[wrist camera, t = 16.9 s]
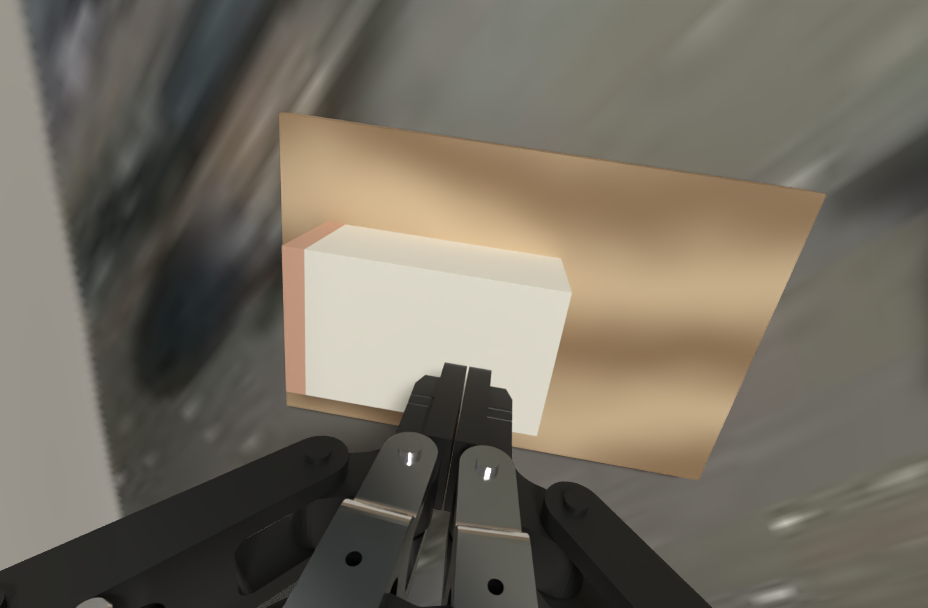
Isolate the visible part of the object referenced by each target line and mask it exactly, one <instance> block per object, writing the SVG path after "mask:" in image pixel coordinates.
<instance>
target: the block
mask: <svg viewBox="0 0 928 608" xmlns="http://www.w3.org/2000/svg"><path fill="white" fill-rule="evenodd" d="M282 270H283V303H284V337H285V370H286V391H287V392H292V393H298V394H303V395H309V396H315V397H320V398H326V399H331V400H337V401H343V402H348V403H354V404H359V405H365V406H371V407H376V408H382V409H387V410H393V411H399V412H404V411H405V408H406V406H407V404H408V400H409V398H410V395H411V393H412V390H413V387H414V385H415V383H416V382H417V381H418V380H419V379H421V378H422V377H423V376H425V375H429V376H435V377H440V376H441V373H442V369H443V366H444V363H445V362H447V363H452V364H458V365H464V366H467V371H466V378H465V384H464V390H463V396H464V391H465V386H466V381H467V375H468V370H469V366H470V367H476V368H482V369H487V370H492V373H491V383H490V386H492V387H498V388H504V389H506V390H507V391H508V393H509V395H510V396H511V398H512V400H513V402H512V432H516V433H522V434H527V435H533V436H537V434H538V429H539V425H540V421H541V417H542V413H543V409H544V405H545V401H546V397H547V393H548V389H549V385H550V381H551V377H552V372H553V368H554V364H555V360H556V356H557V352H558V348H559V344H560V340H561V336H562V332H563V328H564V324H565V319H566V315H567V311H568V307H569V303H570V299H571V295H572V291H571V288H570V285H569V282H568V279H567V276H566V273H565V269H564V266H563V263H562V260H561V258H554V257H548V256H542V255H535V254H529V253H523V252H517V251H510V250H504V249H498V248H491V247H485V246H479V245H472V244H466V243H460V242H453V241H447V240H441V239H435V238H428V237H422V236H416V235H409V234H403V233H397V232H390V231H384V230H378V229H371V228H365V227H359V226H353V225H346V224H340V223H334V222H325V223H324V224H322V225H320V226H318V227H316V228H314V229H312V230H310V231H308V232H307V233H305V234H303V235H301V236H299V237H297V238H295V239H293V240H292V241H290V242H288V243H286V244H284V245H282ZM462 401H463V397H462ZM461 407H462V403H461ZM460 412H461V409H460ZM459 417H460V415H459ZM458 422H459V421H458Z"/></svg>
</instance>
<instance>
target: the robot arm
mask: <svg viewBox="0 0 928 608" xmlns="http://www.w3.org/2000/svg"><path fill="white" fill-rule="evenodd" d="M466 371H467V366H464V365H458V364H452V363H447V362H445V363H444V366H443V369H442V373H441V376H440V377H435V376H429V375H425V376H423V377H422V378H421V379H419V380H418V381H417V382H416V383H415V385H414V387H413V390H412V393H411V395H410V398H409V400H408V404H407V406H406V408H405V411H404V413H403V416H402V419H401V421H400V424H399V426H398V429H397V431H396V434H395V435H393V436H391V437H390V438H388V439H387V440H386V441H385V442H384V444H383V446H382V448H381V449H378V450H375V451H371V452H365V453H348V449H347V447H346V445H345V444H344V443H343V442H342V441H340V440H338V439H336V438H333V437H329V436H315V437H310V438H307V439H304V440H302V441H299V442H297V443H295V444H292V445H290V446H288V447H286V448H283V449H281V450H279V451H276V452H274V453H272V454H269V455H267V456H265V457H262V458H260V459H258V460H255V461H253V462H251V463H249V464H246V465H244V466H242V467H239V468H237V469H235V470H232V471H230V472H228V473H225V474H223V475H221V476H219V477H216V478H214V479H212V480H209V481H207V482H205V483H202V484H200V485H198V486H195V487H193V488H191V489H188V490H186V491H184V492H182V493H179V494H177V495H175V496H172V497H170V498H168V499H165V500H163V501H161V502H158V503H156V504H154V505H152V506H149V507H147V508H145V509H142V510H140V511H138V512H135V513H133V514H131V515H128V516H126V517H124V518H121V519H119V520H117V521H115V522H112V523H110V524H108V525H105V526H103V527H101V528H98V529H96V530H94V531H91V532H90V533H87V534H85V535H82V536H80V537H78V538H75V539H73V540H71V541H68V542H66V543H64V544H61V545H59V546H57V547H55V548H52V549H50V550H48V551H45V552H43V553H41V554H38V555H36V556H34V557H32V558H29V559H27V560H24V561H22V562H20V563H18V564H15V565H13V566H11V567H8V568H6V569H4V570H1V571H0V608H256V607H258V606H259V605H261V604H262V603H264V602H265V601H267V600H268V599H270V598H271V597H273V596H274V595H276V594H277V593H279V592H280V591H282V590H283V589H285V588H287V587H288V586H290V585H291V584H293V583H294V582H296V581H297V580H298V581H297V583H296V585H295V587H294V589H293V590H292V592H291V594H290V596H289V597H288V598H286V599H283V600H281V601H279V602H276V603H274V604H272V605H270V606H269V607H267V608H712V607H711V606H710V605H709V604H708V603H707V602H706V601H705V600H704V599H703V598H702V597H701V596H700V595H699V594H698V593H697V592H696V591H695V590H693V589H692V588H691V587H690V586H689V585H688V584H687V583H686V582H685V581H684V580H683V579H682V578H681V577H680V576H679V575H678V574H677V573H676V572H675V571H674V570H673V569H672V568H671V567H670V566H669V565H668V564H667V563H666V562H665V561H664V560H663V559H662V558H660V557H659V556H658V555H657V554H656V553H655V552H654V551H653V550H652V549H651V548H650V547H649V546H648V545H647V544H646V543H645V542H644V541H643V540H642V539H641V538H640V537H639V536H638V535H637V534H636V533H635V532H634V531H633V530H632V529H631V528H630V527H629V526H628V525H626V524H625V523H624V522H623V521H622V520H621V519H620V518H619V517H618V516H617V515H616V514H615V513H614V512H613V511H612V510H611V509H610V508H609V507H608V506H607V505H606V504H605V503H604V502H603V501H602V500H601V499H600V498H599V497H598V496H597V495H596V494H594V493H593V492H592V491H591V490H589V489H588V488H586V487H584V486H582V485H579V484H577V483H573V482H558V483H555V484H553V485H551V486H550V487H549V488H548V489H544V488H542V487H540V486H538V485H536V484H534V483H532V482H530V481H528V480H527V479H525V478H524V477H523V476H522V475H521V474H520V473H519V472H518V471H517V470H516V468H515V465H514V462H513V461H512V402H513V400H512V398H511V396H510V395H509V393H508V391H507V390H506V389H504V388H498V387H492V386H490V383H491V373H492V370H487V369H482V368H476V367H470V366H469V370H468V375H467V381H466V386H465V391H464V396H463V390H464V384H465V378H466ZM462 397H463V401H462ZM461 403H462V407H461ZM460 409H461V412H460ZM459 415H460V417H459ZM458 421H459V422H458ZM457 426H458V427H457ZM456 431H457V433H456ZM455 437H456V438H455ZM454 442H455V443H454ZM453 447H454V450H453ZM452 452H453V456H452ZM451 457H452V462H451ZM450 463H451V469H450V475H449V481H448V488H447V494H446V500H445V506H444V510H445V511H450V512H451V515H450V521H449V527H448V533H447V539H446V550H445V562H444V575H443V587H442V599H441V606H431V607H419V606H416V605H413V604H411V603H409V602H407V601H406V599H407V596H408V593H409V589H410V586H411V583H412V580H413V577H414V573H415V570H416V567H417V564H418V560H419V557H420V554H421V551H422V547H423V544H424V541H425V538H426V533H427V528H428V526H429V524H430V522H431V518H432V513H433V509H438V510H441V509H442V504H443V499H444V494H445V488H446V483H447V478H448V473H449V468H450ZM287 515H289V516H287ZM286 516H287V517H286ZM284 517H285V518H284ZM282 518H283V519H282ZM280 519H282V520H280ZM278 520H280V521H278ZM276 521H278V522H276ZM274 522H276V523H274ZM273 523H274V524H273ZM271 524H272V525H271ZM269 525H271V526H269ZM267 526H269V527H267ZM265 527H267V528H265ZM263 528H265V529H263ZM262 529H263V530H262ZM260 530H261V531H260ZM258 531H259V532H258ZM256 532H258V533H256ZM254 533H256V534H254ZM252 534H254V535H252ZM251 535H252V536H251ZM249 536H250V537H249ZM246 538H247V539H246Z"/></svg>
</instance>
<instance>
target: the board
mask: <svg viewBox="0 0 928 608" xmlns="http://www.w3.org/2000/svg"><path fill="white" fill-rule="evenodd" d="M279 126H280V163H281V201H282V238H283V245H284V244H286V243H288V242H290V241H292V240H293V239H295V238H297V237H299V236H301V235H303V234H305V233H307V232H308V231H310V230H312V229H314V228H316V227H318V226H320V225H322V224H324V223H325V222H334V223H340V224H346V225H353V226H359V227H365V228H371V229H378V230H384V231H390V232H397V233H403V234H409V235H416V236H422V237H428V238H435V239H441V240H447V241H453V242H460V243H466V244H472V245H479V246H485V247H491V248H498V249H504V250H510V251H517V252H523V253H529V254H535V255H542V256H548V257H554V258H561V260H562V263H563V266H564V269H565V273H566V276H567V279H568V282H569V285H570V288H571V291H572V295H571V299H570V303H569V307H568V311H567V315H566V319H565V324H564V328H563V332H562V336H561V340H560V344H559V348H558V352H557V356H556V360H555V364H554V368H553V372H552V377H551V381H550V385H549V389H548V393H547V397H546V401H545V405H544V409H543V413H542V417H541V421H540V425H539V429H538V434H537V436H533V435H527V434H522V433H516V432H512V446H513V447H518V448H524V449H529V450H535V451H540V452H546V453H551V454H557V455H562V456H568V457H573V458H579V459H584V460H590V461H595V462H601V463H606V464H612V465H617V466H623V467H628V468H634V469H639V470H645V471H650V472H656V473H661V474H667V475H672V476H678V477H683V478H688V479H694V480H699V478H700V475H701V473H702V471H703V469H704V466H705V464H706V462H707V460H708V457H709V455H710V453H711V451H712V449H713V446H714V444H715V442H716V440H717V437H718V435H719V433H720V431H721V429H722V426H723V424H724V422H725V420H726V417H727V415H728V413H729V411H730V408H731V406H732V404H733V402H734V400H735V397H736V395H737V393H738V391H739V388H740V386H741V384H742V382H743V380H744V377H745V375H746V373H747V371H748V368H749V366H750V364H751V362H752V359H753V357H754V355H755V353H756V351H757V348H758V346H759V344H760V342H761V339H762V337H763V335H764V333H765V330H766V328H767V326H768V324H769V322H770V319H771V317H772V315H773V313H774V310H775V308H776V306H777V304H778V302H779V299H780V297H781V295H782V293H783V290H784V288H785V286H786V284H787V281H788V279H789V277H790V275H791V273H792V270H793V268H794V266H795V264H796V261H797V259H798V257H799V255H800V253H801V250H802V248H803V246H804V244H805V241H806V239H807V237H808V235H809V232H810V230H811V228H812V226H813V224H814V221H815V219H816V217H817V215H818V212H819V210H820V208H821V206H822V204H823V201H824V199H825V197H826V195H827V194H823V193H818V192H814V191H810V190H805V189H798V188H792V187H785V186H778V185H772V184H765V183H758V182H751V181H745V180H738V179H731V178H725V177H718V176H711V175H705V174H698V173H691V172H685V171H678V170H671V169H664V168H658V167H651V166H644V165H638V164H631V163H624V162H618V161H611V160H604V159H598V158H591V157H584V156H577V155H571V154H564V153H557V152H551V151H544V150H537V149H531V148H524V147H517V146H510V145H504V144H497V143H490V142H484V141H477V140H470V139H464V138H457V137H450V136H444V135H437V134H430V133H423V132H417V131H410V130H403V129H397V128H390V127H383V126H377V125H370V124H363V123H357V122H350V121H343V120H336V119H330V118H323V117H316V116H310V115H303V114H296V113H279ZM287 405H288V406H293V407H299V408H304V409H310V410H315V411H321V412H326V413H332V414H337V415H343V416H348V417H354V418H359V419H365V420H370V421H376V422H381V423H387V424H392V425H398V426H399V424H400V421H401V419H402V416H403V413H404V412H399V411H393V410H387V409H382V408H376V407H371V406H365V405H359V404H354V403H348V402H343V401H337V400H331V399H326V398H320V397H315V396H309V395H303V394H298V393H292V392H287ZM457 427H458V426H457ZM456 433H457V431H456Z"/></svg>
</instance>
